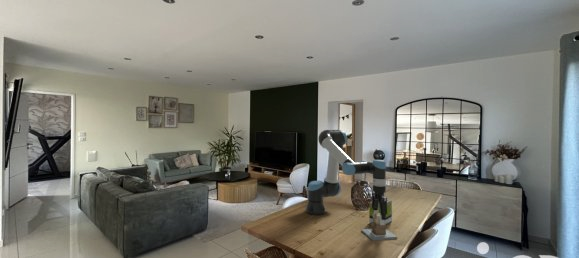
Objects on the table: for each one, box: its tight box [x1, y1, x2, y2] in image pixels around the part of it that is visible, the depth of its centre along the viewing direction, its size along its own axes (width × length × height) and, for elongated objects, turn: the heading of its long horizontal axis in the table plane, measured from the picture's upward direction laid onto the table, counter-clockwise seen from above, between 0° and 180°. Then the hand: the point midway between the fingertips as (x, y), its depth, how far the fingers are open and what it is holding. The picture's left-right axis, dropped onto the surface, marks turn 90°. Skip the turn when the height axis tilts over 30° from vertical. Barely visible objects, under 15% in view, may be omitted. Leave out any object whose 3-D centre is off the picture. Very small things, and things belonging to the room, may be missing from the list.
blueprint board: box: [360, 227, 398, 241], centre depth 155 cm, size 14×16×1 cm
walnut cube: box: [371, 222, 387, 235], centre depth 155 cm, size 6×6×6 cm
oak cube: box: [373, 213, 381, 224], centre depth 155 cm, size 5×5×5 cm
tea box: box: [368, 199, 393, 225], centre depth 176 cm, size 15×10×15 cm, turn 135°
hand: (379, 222), depth 155 cm, fingers open, 6 cm apart
